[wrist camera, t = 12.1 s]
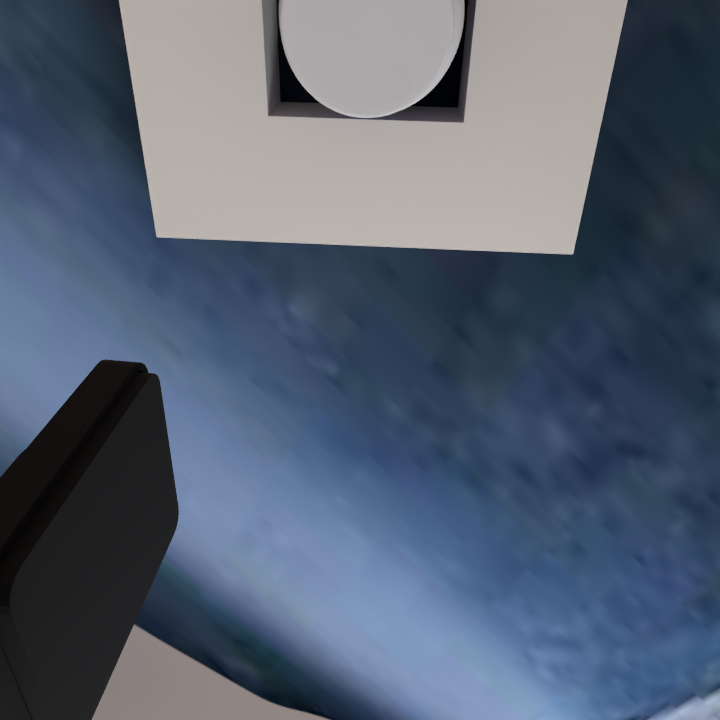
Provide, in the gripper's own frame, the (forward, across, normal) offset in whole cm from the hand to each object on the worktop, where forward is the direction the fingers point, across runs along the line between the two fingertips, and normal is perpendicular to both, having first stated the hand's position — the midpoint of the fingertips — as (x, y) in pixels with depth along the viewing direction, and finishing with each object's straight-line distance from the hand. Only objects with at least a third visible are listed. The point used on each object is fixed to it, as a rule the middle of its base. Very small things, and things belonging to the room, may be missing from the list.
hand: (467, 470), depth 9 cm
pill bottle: (+22, +3, -5) cm, 22 cm away
